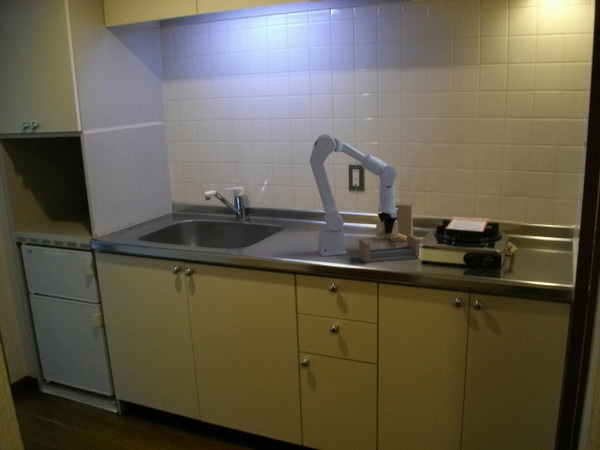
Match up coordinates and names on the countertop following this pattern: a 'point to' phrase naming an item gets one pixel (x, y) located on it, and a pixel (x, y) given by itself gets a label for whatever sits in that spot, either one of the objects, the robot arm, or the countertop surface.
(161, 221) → the countertop surface
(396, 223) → the door panel
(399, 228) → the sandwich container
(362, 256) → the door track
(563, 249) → the countertop surface
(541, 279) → the countertop surface
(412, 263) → the countertop surface
